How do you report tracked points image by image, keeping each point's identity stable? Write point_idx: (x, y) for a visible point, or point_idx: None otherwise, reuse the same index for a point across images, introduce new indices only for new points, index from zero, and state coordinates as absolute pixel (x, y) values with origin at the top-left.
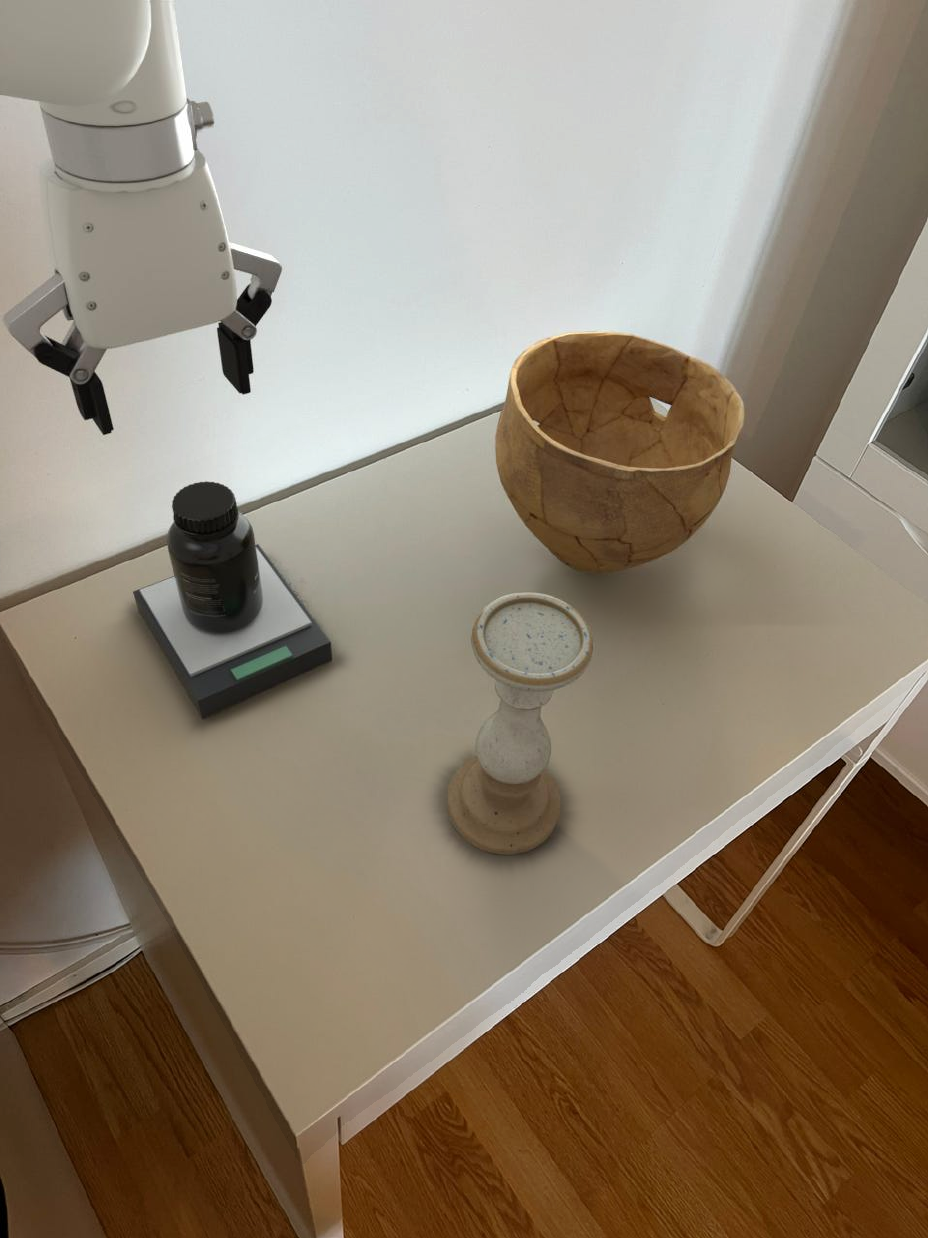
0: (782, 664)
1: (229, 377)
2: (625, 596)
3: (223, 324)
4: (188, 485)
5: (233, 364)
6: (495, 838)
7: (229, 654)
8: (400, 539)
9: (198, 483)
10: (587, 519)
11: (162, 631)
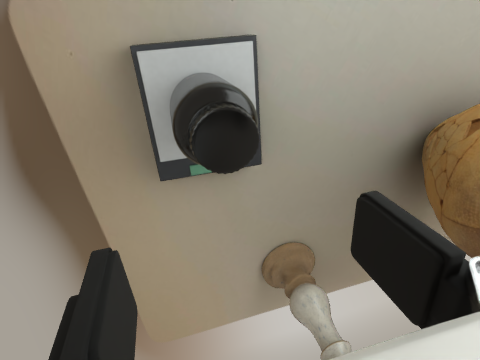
0: (441, 233)
1: (360, 226)
2: None
3: (453, 291)
4: (218, 107)
5: (384, 276)
6: (274, 284)
7: None
8: (356, 61)
9: (230, 110)
10: (462, 247)
11: (148, 107)
